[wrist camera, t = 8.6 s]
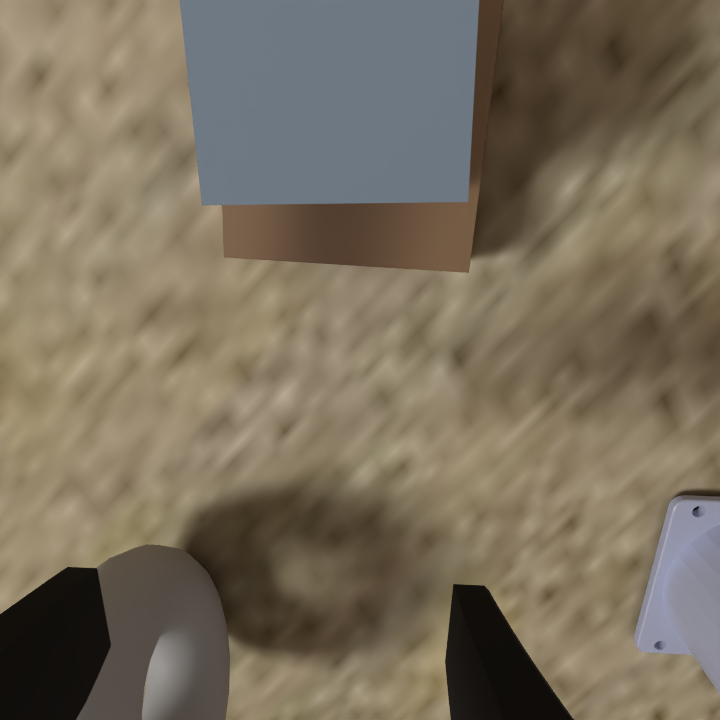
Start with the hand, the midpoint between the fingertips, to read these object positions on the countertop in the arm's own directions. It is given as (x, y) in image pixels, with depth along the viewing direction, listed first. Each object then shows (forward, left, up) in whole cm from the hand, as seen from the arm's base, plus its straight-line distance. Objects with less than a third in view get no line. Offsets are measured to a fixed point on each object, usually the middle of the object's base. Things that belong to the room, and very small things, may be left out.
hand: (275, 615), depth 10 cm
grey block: (-1, -10, -7) cm, 13 cm away
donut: (+6, +9, -10) cm, 15 cm away
